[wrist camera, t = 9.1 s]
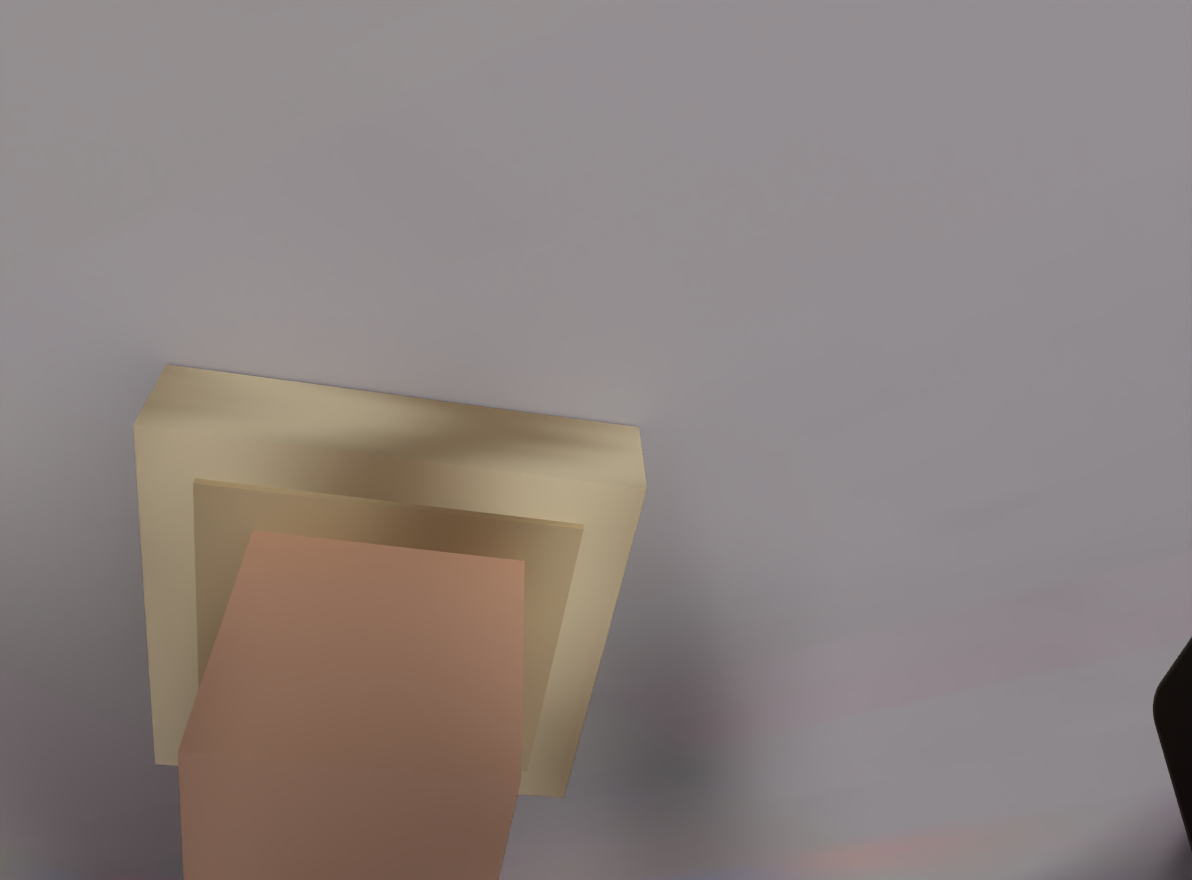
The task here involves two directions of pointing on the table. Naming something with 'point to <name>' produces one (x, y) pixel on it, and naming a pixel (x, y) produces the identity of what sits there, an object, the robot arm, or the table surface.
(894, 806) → the table surface
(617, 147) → the table surface
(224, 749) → the cube
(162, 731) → the plinth
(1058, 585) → the table surface
